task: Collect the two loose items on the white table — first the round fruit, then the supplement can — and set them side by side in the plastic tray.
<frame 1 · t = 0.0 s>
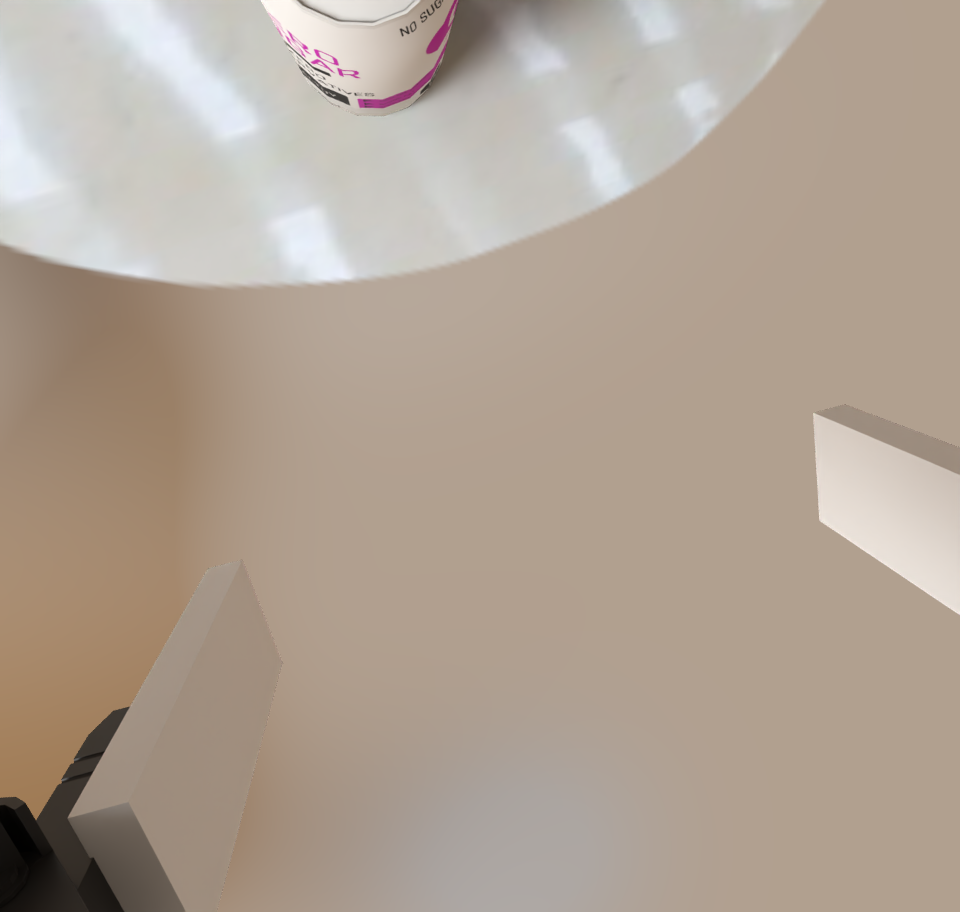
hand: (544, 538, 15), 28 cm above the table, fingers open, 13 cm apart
supplement can: (367, 34, 36), on the table
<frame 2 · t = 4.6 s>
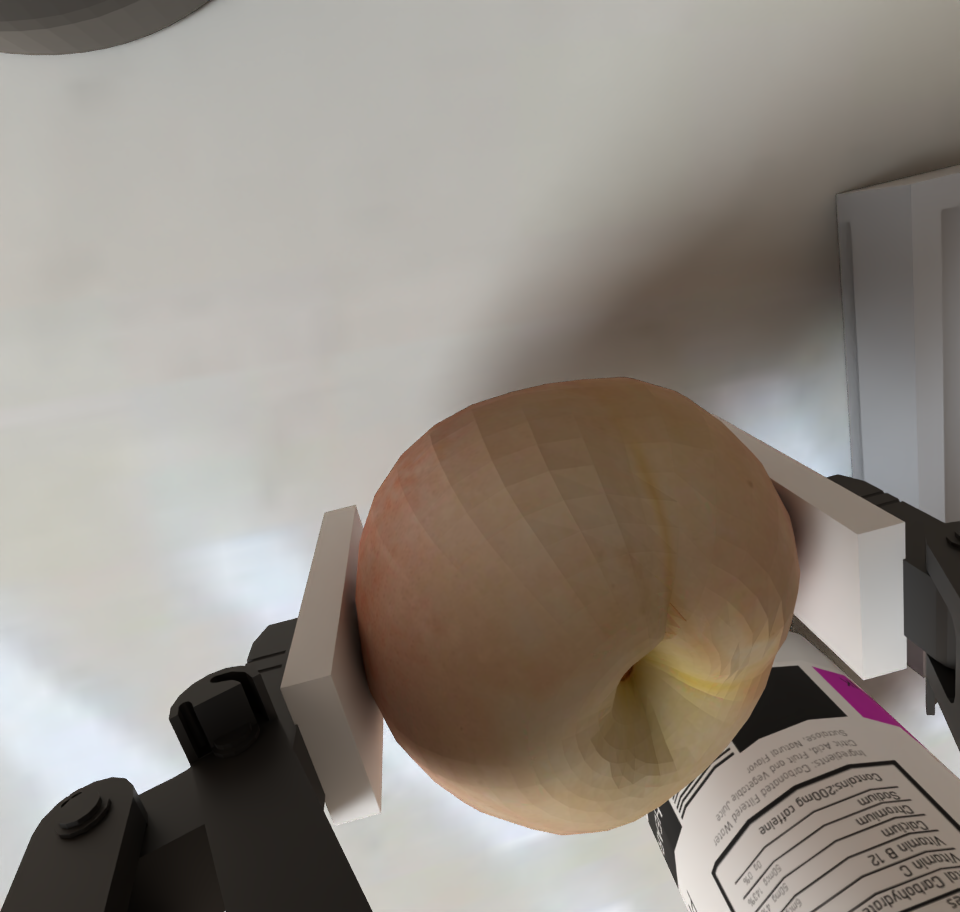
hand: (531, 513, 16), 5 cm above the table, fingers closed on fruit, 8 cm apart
supplement can: (720, 709, 25), on the table
fruit: (526, 500, 17), point 4 cm above the table, touching gripper
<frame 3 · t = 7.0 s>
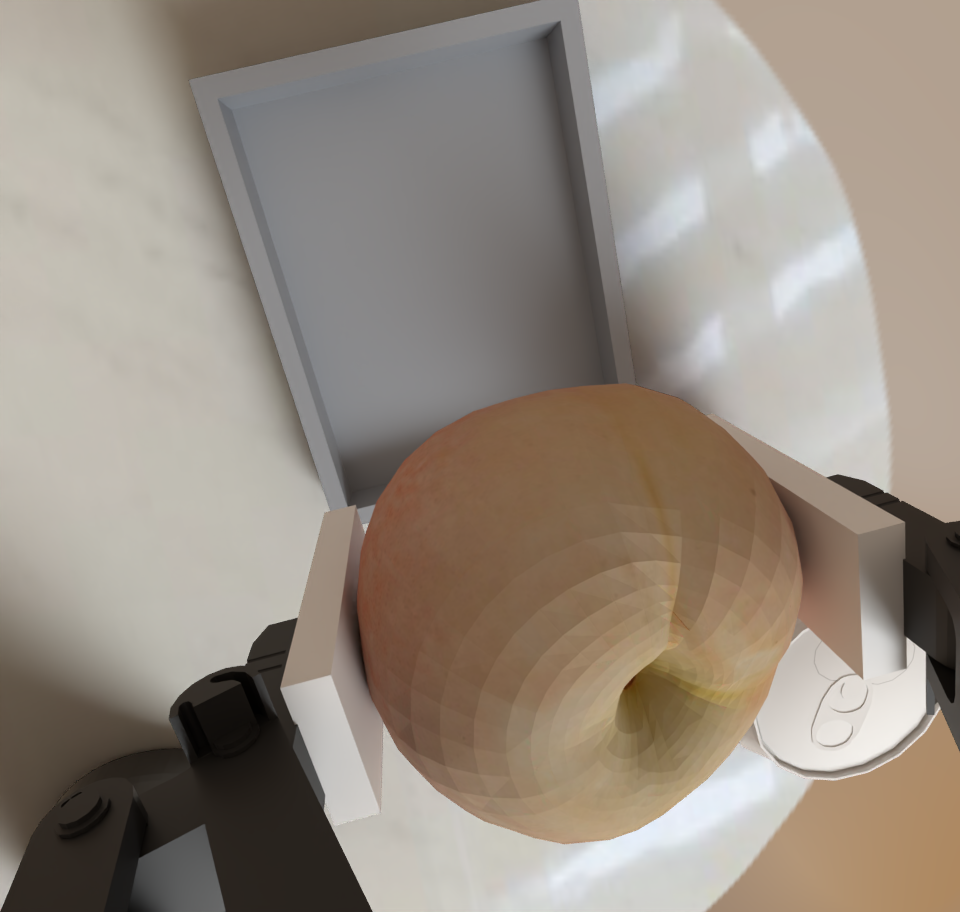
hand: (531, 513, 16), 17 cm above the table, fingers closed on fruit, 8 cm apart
supplement can: (674, 516, 37), on the table
tray: (440, 283, 31), on the table
fruit: (527, 505, 17), point 17 cm above the table, touching gripper
when the fingers open (3 cm above the table, at t = 9.8 s): fruit drops 2 cm, resting on tray.
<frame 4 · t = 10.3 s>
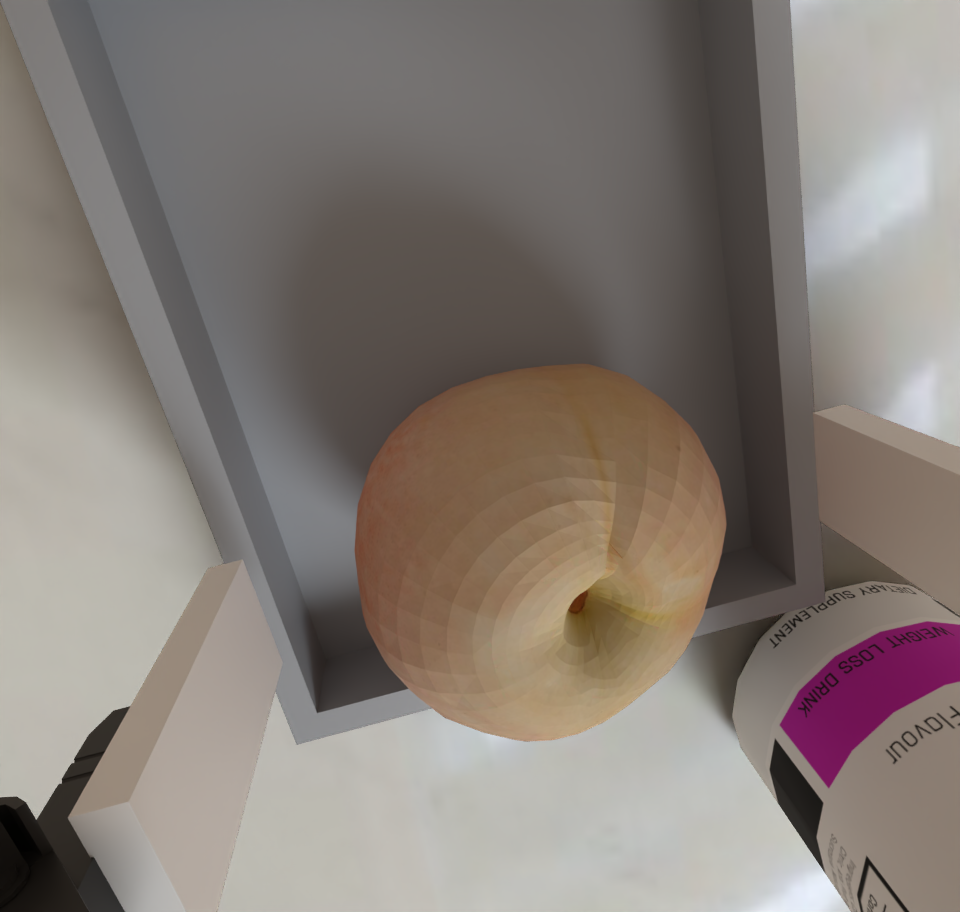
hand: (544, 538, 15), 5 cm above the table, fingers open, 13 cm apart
supplement can: (831, 672, 24), on the table
tray: (475, 316, 18), on the table
fruit: (507, 475, 19), resting on tray
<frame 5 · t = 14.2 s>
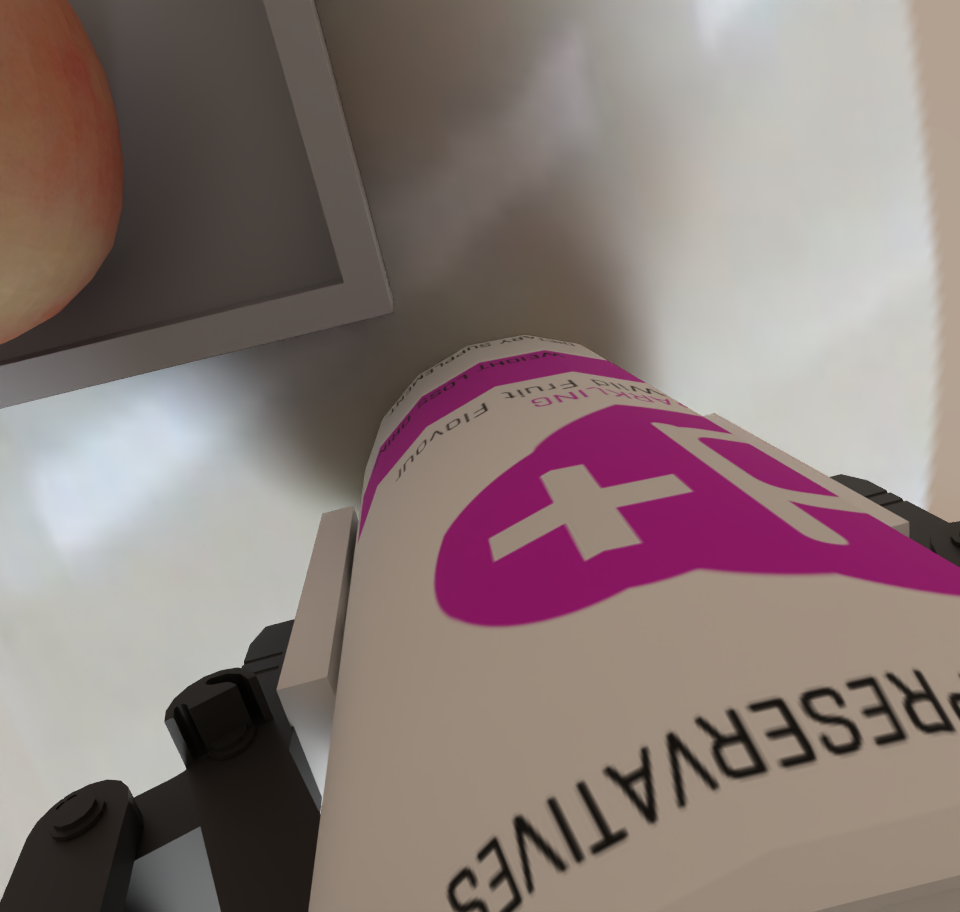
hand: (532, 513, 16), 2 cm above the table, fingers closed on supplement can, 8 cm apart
supplement can: (514, 478, 19), on the table, touching gripper
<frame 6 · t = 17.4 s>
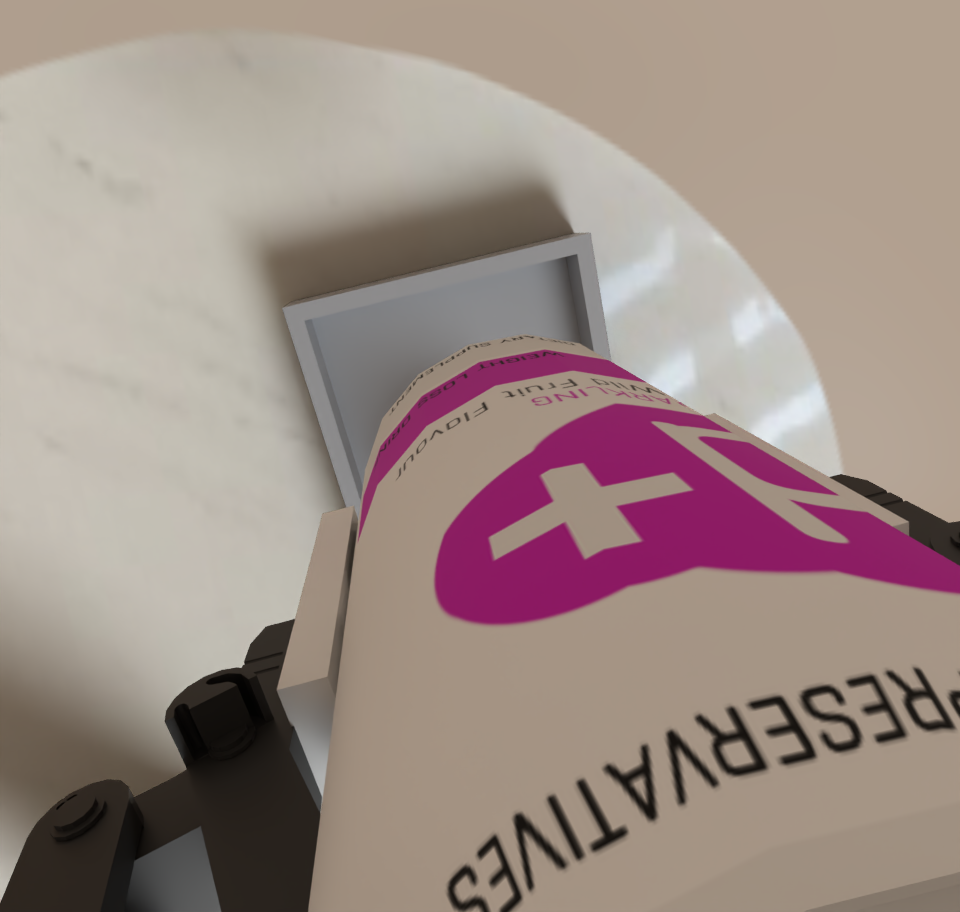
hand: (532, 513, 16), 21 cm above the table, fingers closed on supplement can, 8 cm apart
supplement can: (514, 477, 19), point 18 cm above the table, touching gripper
tray: (475, 438, 38), on the table
when the fingers open (5 cm above the table, at t = 20.7 s): supplement can drops 2 cm, resting on tray.
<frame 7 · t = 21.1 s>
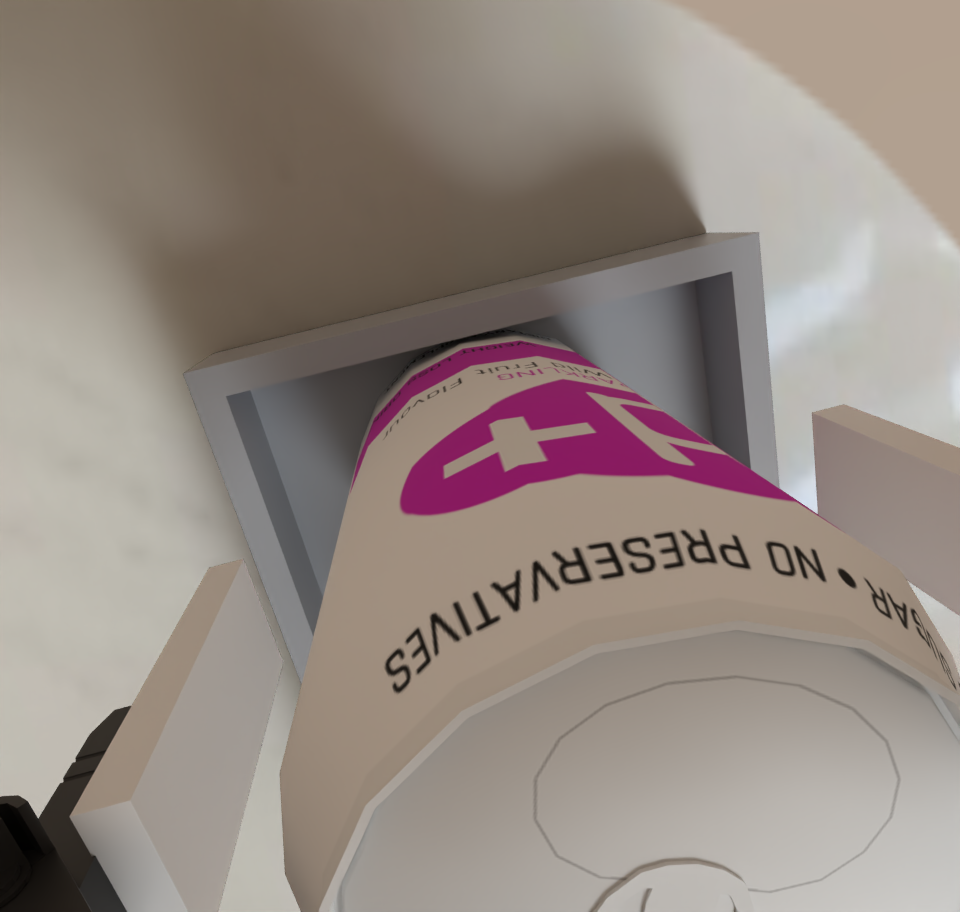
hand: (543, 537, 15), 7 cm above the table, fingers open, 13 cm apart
supplement can: (495, 458, 21), resting on tray
tray: (527, 570, 23), on the table
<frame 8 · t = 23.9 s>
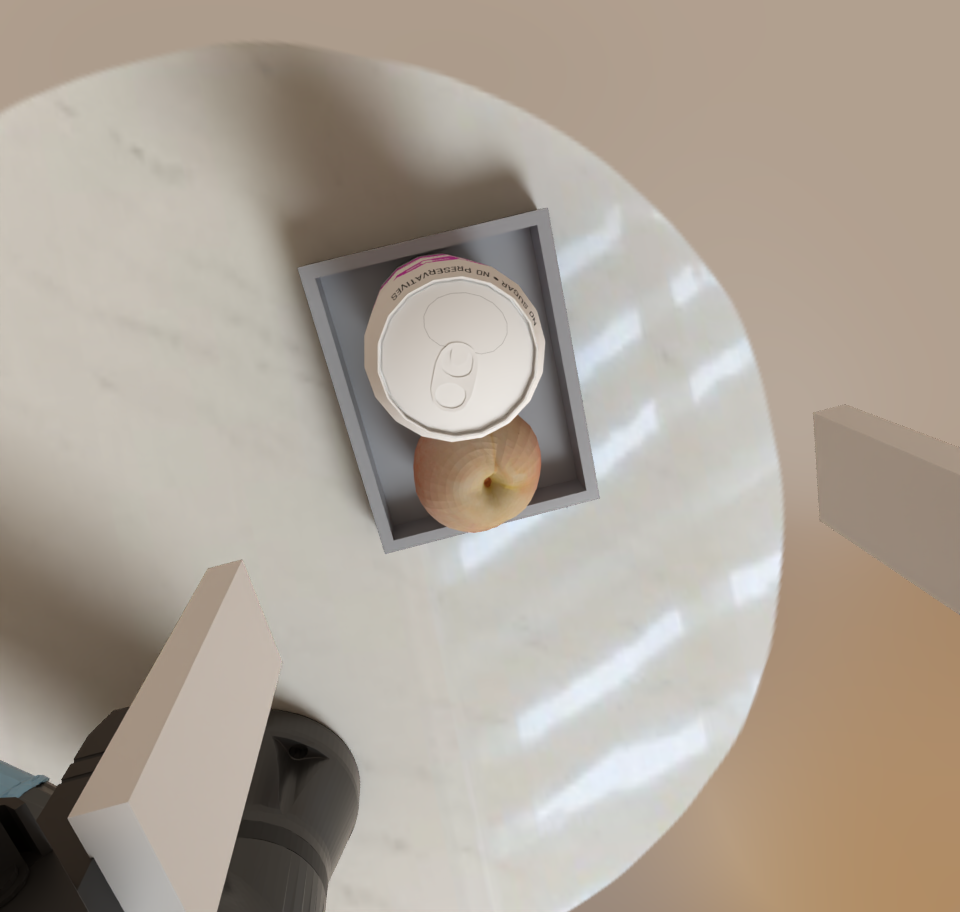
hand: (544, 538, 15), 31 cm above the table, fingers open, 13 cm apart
supplement can: (437, 319, 43), resting on tray
tray: (456, 382, 45), on the table
fruit: (470, 447, 46), resting on tray
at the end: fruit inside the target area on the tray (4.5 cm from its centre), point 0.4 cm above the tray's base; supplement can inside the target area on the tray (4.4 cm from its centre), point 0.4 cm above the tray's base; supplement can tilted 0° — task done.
